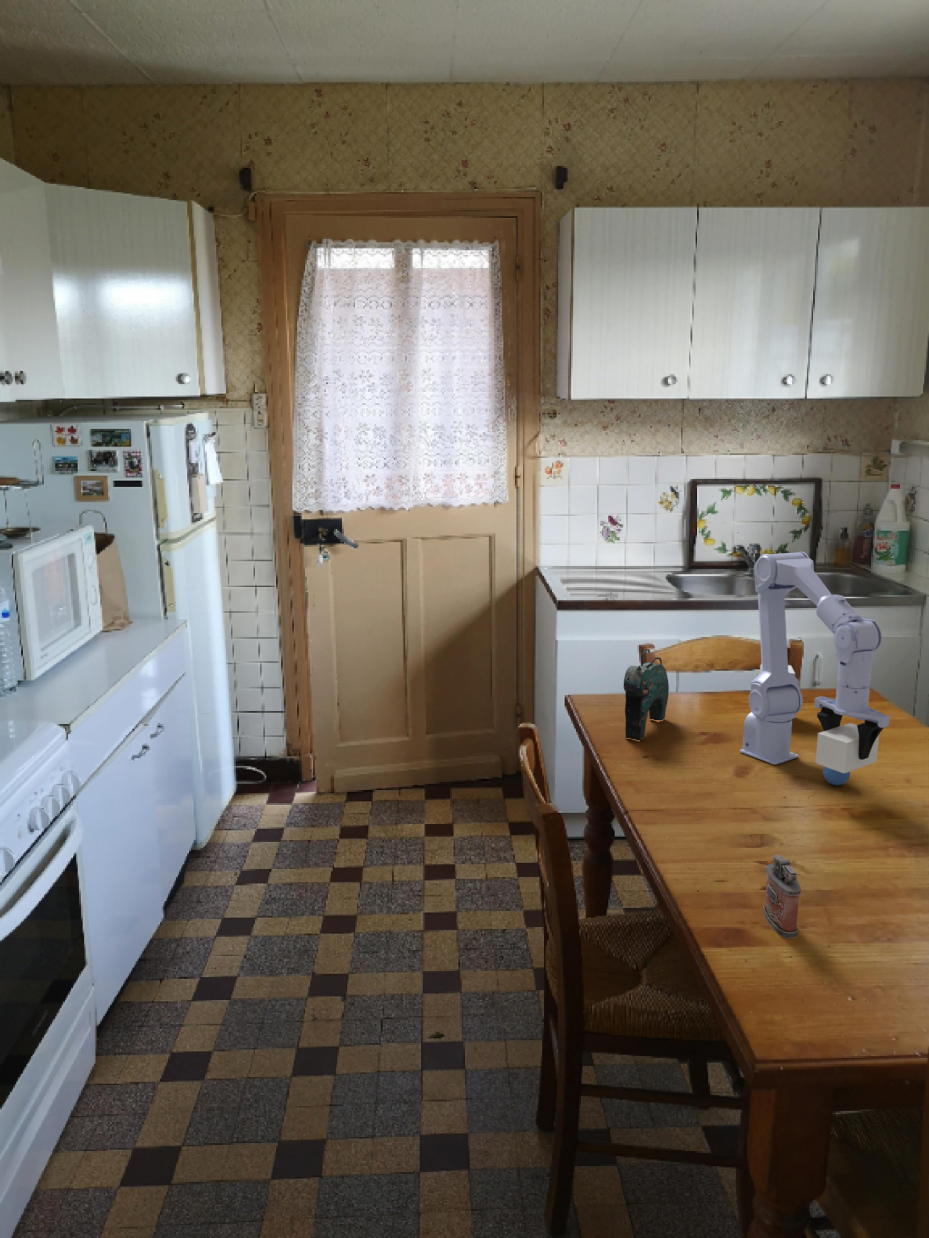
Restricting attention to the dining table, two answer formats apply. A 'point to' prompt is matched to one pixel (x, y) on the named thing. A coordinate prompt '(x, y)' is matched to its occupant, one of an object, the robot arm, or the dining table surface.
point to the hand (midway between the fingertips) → (847, 752)
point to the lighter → (782, 897)
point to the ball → (835, 776)
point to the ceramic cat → (644, 696)
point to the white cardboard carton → (842, 749)
